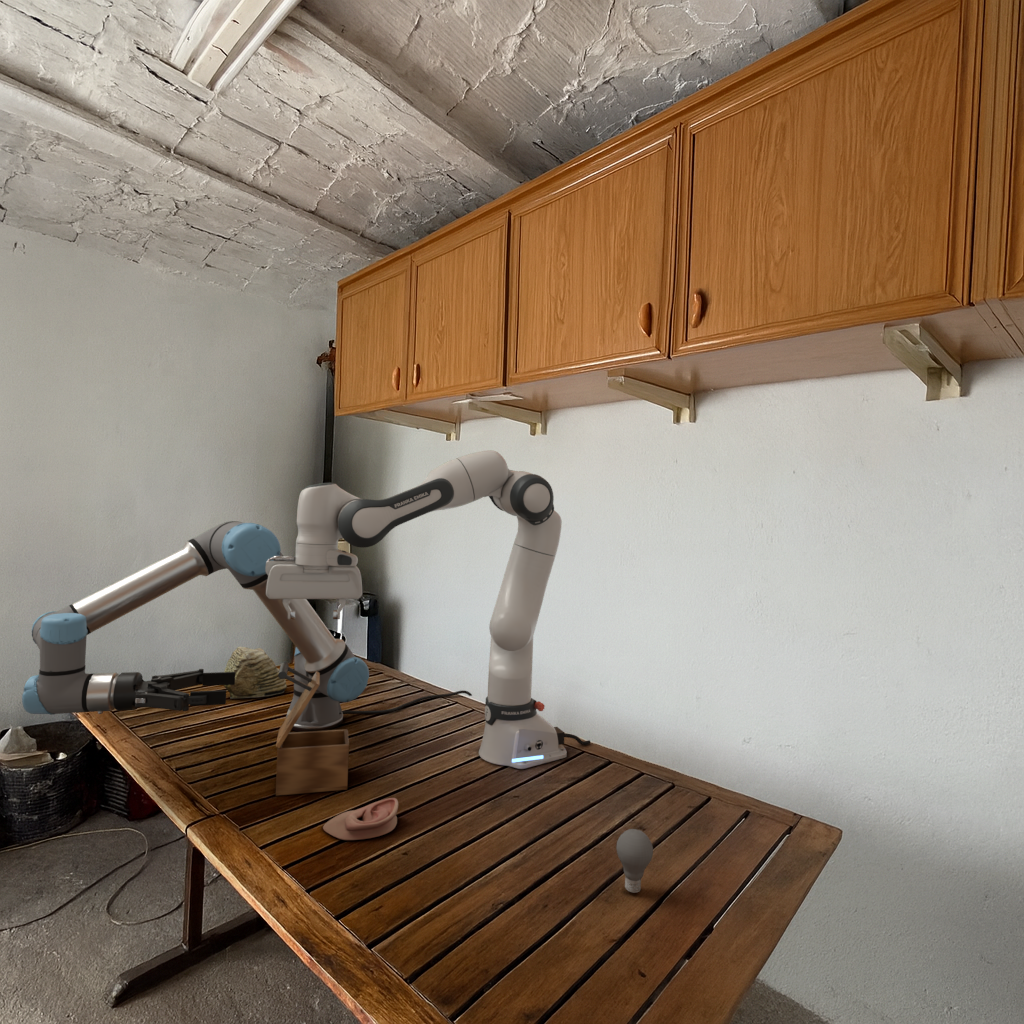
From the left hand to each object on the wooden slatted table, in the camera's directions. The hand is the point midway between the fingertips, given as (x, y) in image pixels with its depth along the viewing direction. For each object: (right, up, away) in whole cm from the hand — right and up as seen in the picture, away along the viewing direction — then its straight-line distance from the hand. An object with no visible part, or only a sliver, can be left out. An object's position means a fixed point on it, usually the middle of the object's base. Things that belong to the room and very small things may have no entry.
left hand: (230, 687), depth 135 cm
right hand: (+16, +14, +4) cm, 22 cm away
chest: (+16, -23, +5) cm, 28 cm away
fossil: (-21, -20, +63) cm, 70 cm away
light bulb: (+80, -26, -29) cm, 89 cm away
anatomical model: (+31, -24, -12) cm, 41 cm away
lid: (+13, -6, +4) cm, 15 cm away
